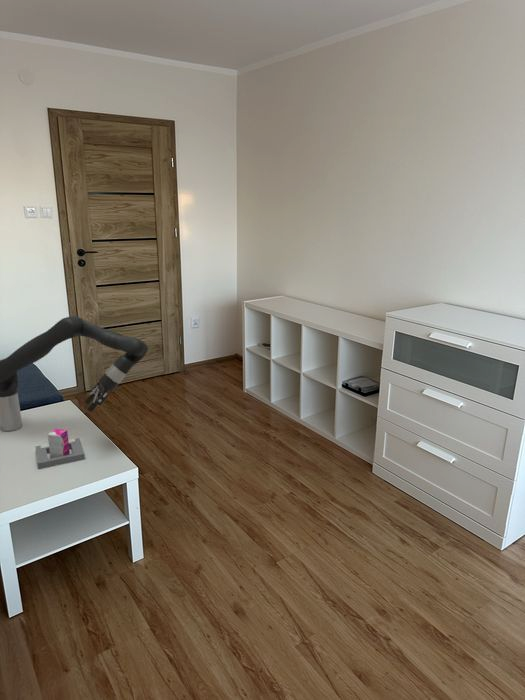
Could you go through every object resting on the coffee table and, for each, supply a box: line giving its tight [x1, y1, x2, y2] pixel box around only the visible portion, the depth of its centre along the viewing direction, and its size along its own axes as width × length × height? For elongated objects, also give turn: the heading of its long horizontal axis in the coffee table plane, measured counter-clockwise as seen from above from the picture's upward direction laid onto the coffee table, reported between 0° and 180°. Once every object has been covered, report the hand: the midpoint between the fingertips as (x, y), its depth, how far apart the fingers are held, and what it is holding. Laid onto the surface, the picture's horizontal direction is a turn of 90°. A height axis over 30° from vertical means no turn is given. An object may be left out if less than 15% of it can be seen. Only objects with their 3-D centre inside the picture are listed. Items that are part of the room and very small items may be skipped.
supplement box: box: [47, 428, 70, 459], centre depth 209 cm, size 6×6×12 cm
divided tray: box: [35, 437, 86, 470], centre depth 211 cm, size 16×18×3 cm
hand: (87, 406), depth 212 cm, fingers open, 8 cm apart
